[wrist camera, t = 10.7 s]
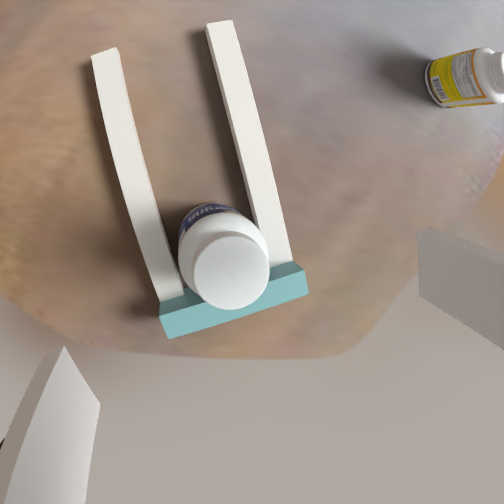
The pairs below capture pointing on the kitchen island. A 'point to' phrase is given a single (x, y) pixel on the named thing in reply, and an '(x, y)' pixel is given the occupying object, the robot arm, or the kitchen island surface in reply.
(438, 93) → the supplement bottle
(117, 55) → the guide track
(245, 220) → the pill bottle
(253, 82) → the kitchen island surface
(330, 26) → the kitchen island surface
